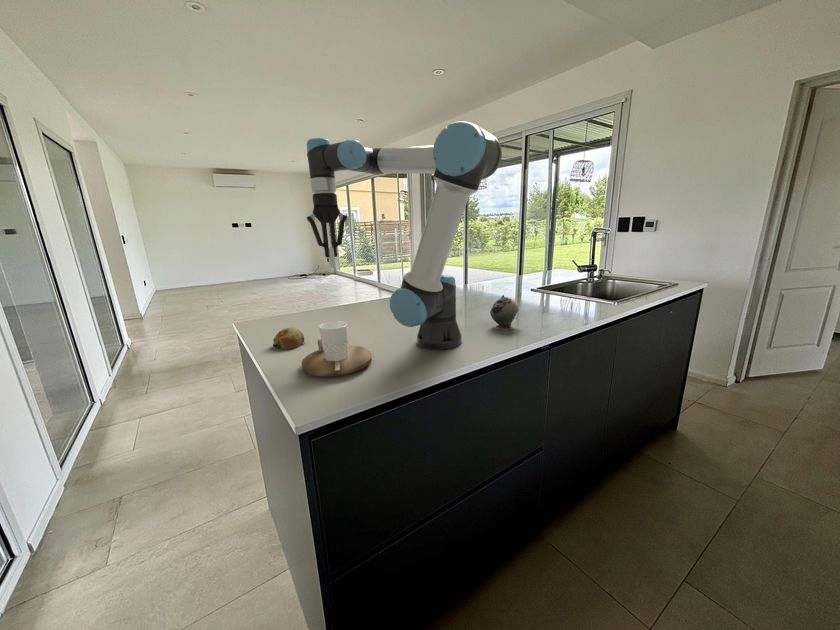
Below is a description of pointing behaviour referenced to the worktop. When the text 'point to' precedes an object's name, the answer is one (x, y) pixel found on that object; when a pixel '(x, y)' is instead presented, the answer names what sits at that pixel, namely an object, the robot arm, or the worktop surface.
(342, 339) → the white cup
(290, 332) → the bread roll
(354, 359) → the turntable
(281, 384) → the worktop surface
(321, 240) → the robot arm
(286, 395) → the worktop surface
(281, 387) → the worktop surface
